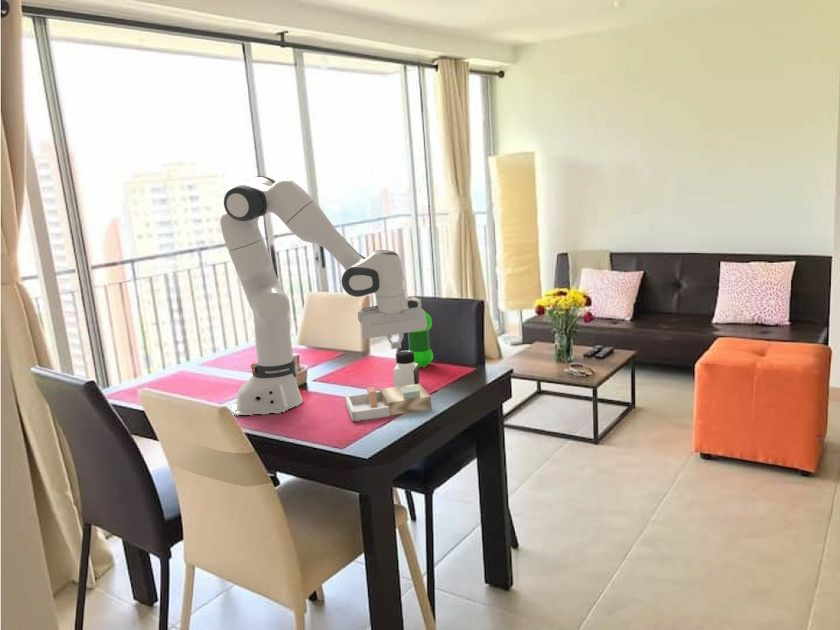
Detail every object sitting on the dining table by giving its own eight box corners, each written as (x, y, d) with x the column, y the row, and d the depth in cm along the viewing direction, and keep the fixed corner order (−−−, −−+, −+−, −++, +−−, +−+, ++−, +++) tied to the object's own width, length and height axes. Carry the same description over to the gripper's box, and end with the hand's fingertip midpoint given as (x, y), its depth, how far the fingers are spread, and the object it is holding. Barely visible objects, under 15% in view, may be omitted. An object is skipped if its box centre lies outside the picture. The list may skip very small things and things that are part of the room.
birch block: (389, 415, 198) (388, 402, 197) (380, 401, 211) (379, 389, 210) (431, 409, 201) (430, 396, 200) (420, 395, 214) (419, 383, 213)
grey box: (353, 422, 195) (352, 412, 194) (346, 404, 210) (345, 395, 209) (389, 416, 197) (389, 407, 196) (380, 400, 212) (379, 391, 212)
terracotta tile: (377, 406, 205) (371, 407, 205) (374, 401, 210) (368, 402, 209) (376, 391, 204) (369, 392, 203) (373, 386, 209) (366, 387, 208)
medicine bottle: (415, 389, 220) (412, 354, 217) (394, 389, 221) (391, 355, 219) (419, 383, 227) (417, 349, 224) (399, 383, 228) (396, 349, 226)
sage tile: (404, 399, 199) (403, 393, 199) (400, 394, 204) (400, 388, 203) (420, 397, 200) (419, 390, 200) (416, 392, 205) (415, 385, 204)
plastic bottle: (430, 360, 253) (426, 295, 248) (437, 367, 243) (432, 300, 238) (404, 363, 251) (399, 298, 246) (410, 371, 241) (405, 303, 236)
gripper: (358, 310, 194) (363, 355, 197) (426, 301, 199) (430, 345, 202) (355, 306, 201) (360, 350, 204) (421, 297, 205) (425, 340, 208)
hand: (396, 348), depth 203 cm, fingers closed
